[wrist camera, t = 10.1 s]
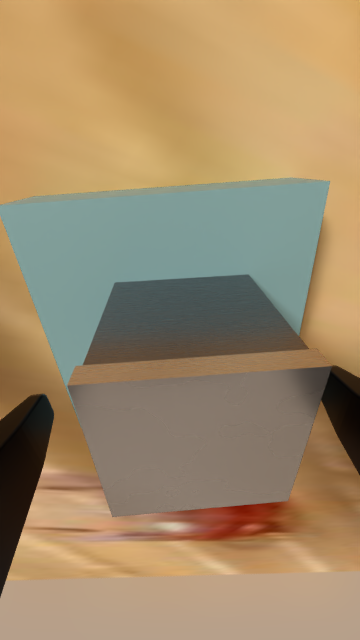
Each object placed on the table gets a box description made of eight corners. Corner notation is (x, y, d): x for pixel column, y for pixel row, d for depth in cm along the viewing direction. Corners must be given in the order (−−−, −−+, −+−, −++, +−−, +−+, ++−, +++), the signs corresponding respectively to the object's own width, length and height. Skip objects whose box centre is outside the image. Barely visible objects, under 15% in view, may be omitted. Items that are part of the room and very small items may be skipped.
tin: (130, 384, 13) (112, 517, 8) (111, 280, 10) (67, 385, 5) (240, 376, 13) (288, 500, 8) (251, 271, 10) (332, 366, 5)
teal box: (95, 381, 17) (81, 428, 14) (38, 195, 12) (-4, 205, 9) (262, 366, 17) (284, 408, 14) (286, 177, 12) (330, 181, 9)
